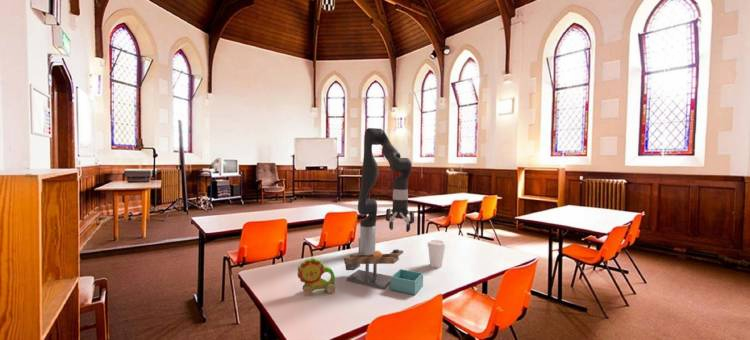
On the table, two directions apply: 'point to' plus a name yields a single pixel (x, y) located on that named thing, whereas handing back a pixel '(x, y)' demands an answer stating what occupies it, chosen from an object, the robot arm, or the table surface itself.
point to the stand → (370, 277)
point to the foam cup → (436, 252)
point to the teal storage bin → (407, 282)
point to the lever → (371, 259)
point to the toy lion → (315, 276)
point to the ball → (377, 254)
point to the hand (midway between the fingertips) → (399, 230)
